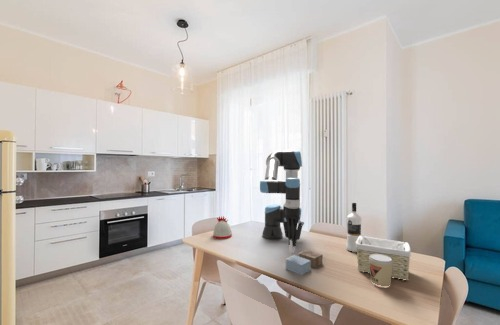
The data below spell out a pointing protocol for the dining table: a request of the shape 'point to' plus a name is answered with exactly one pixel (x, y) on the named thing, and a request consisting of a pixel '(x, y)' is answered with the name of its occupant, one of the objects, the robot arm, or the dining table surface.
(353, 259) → the dining table surface
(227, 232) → the beanie hat
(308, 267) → the slate block
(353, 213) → the vodka
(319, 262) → the walnut block
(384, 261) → the coffee cup
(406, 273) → the storage basket
